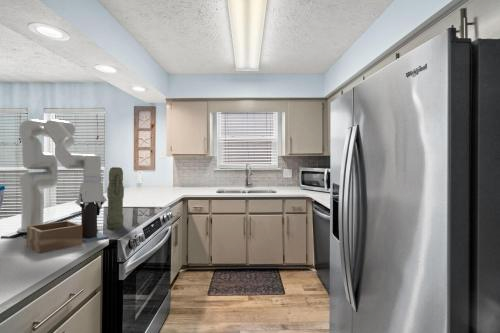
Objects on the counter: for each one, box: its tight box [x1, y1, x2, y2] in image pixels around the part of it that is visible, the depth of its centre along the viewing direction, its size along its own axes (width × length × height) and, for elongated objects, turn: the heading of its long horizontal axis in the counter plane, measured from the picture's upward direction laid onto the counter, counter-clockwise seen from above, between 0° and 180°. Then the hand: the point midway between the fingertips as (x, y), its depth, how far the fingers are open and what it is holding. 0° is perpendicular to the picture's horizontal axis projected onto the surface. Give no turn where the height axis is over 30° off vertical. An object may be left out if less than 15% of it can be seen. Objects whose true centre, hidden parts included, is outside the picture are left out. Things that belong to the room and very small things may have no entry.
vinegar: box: [80, 202, 98, 238], centre depth 138 cm, size 7×7×20 cm
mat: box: [82, 232, 109, 243], centre depth 139 cm, size 12×10×1 cm
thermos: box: [106, 166, 125, 230], centre depth 163 cm, size 9×12×35 cm
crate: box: [26, 220, 83, 254], centre depth 126 cm, size 15×16×9 cm
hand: (91, 215), depth 139 cm, fingers open, 4 cm apart
